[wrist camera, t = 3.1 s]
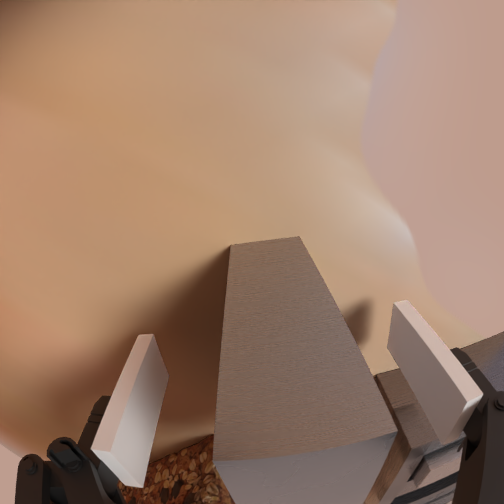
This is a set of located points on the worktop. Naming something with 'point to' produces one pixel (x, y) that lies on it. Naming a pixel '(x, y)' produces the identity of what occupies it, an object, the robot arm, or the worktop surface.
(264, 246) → the block
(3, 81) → the worktop surface
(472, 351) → the rack
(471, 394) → the robot arm
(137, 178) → the worktop surface
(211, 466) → the bread
